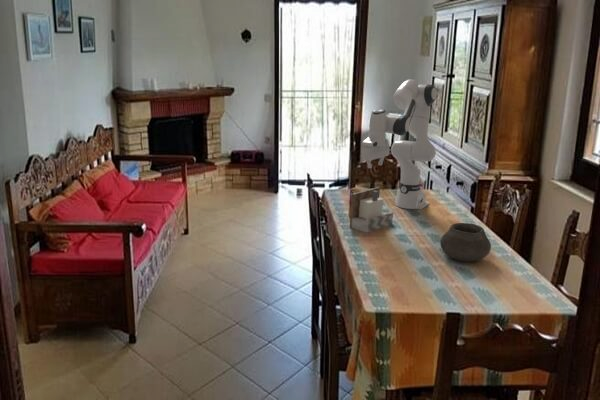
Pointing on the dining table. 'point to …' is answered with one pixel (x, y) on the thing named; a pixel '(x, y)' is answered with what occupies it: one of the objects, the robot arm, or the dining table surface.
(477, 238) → the clay pot
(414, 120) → the robot arm
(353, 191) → the candy box
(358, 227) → the wood-topped platform
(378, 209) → the cabinet
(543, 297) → the dining table surface
